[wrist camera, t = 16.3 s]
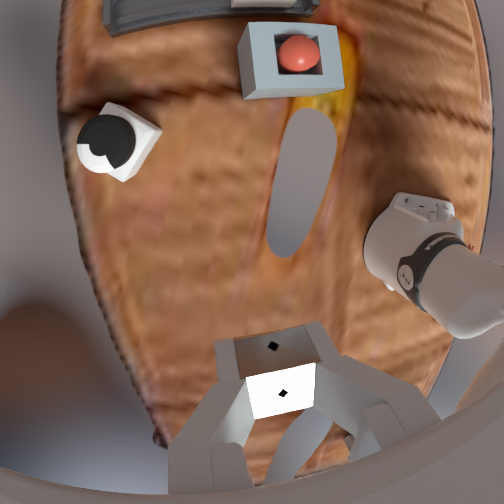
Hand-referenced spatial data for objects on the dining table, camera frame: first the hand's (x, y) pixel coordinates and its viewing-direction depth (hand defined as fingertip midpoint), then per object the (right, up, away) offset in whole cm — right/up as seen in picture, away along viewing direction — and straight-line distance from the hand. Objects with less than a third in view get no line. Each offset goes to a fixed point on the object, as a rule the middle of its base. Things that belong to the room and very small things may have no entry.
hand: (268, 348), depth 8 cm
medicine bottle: (-17, +18, +27) cm, 37 cm away
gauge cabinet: (+3, +28, +26) cm, 38 cm away
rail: (-6, +38, +20) cm, 43 cm away
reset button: (+4, +25, +20) cm, 32 cm away
